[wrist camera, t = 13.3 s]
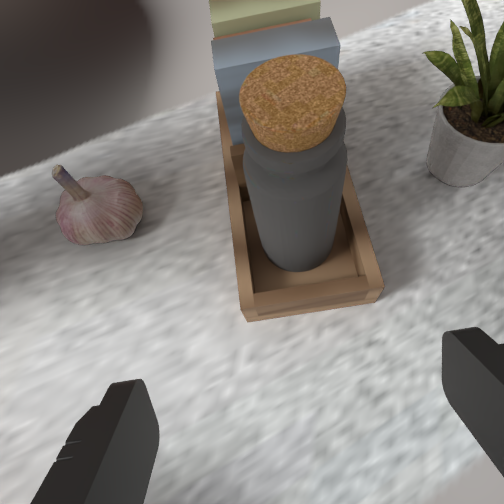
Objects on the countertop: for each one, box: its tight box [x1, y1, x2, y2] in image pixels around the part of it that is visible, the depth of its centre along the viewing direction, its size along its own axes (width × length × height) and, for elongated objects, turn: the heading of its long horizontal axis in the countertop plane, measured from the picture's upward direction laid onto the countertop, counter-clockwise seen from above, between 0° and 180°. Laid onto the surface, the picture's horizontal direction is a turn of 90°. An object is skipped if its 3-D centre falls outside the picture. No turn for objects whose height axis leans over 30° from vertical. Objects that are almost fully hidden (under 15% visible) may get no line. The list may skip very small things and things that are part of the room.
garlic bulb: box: [52, 164, 143, 245], centre depth 30 cm, size 8×7×8 cm
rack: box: [209, 0, 385, 322], centre depth 27 cm, size 22×10×13 cm, turn 7°
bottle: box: [239, 54, 347, 272], centre depth 22 cm, size 6×6×15 cm
